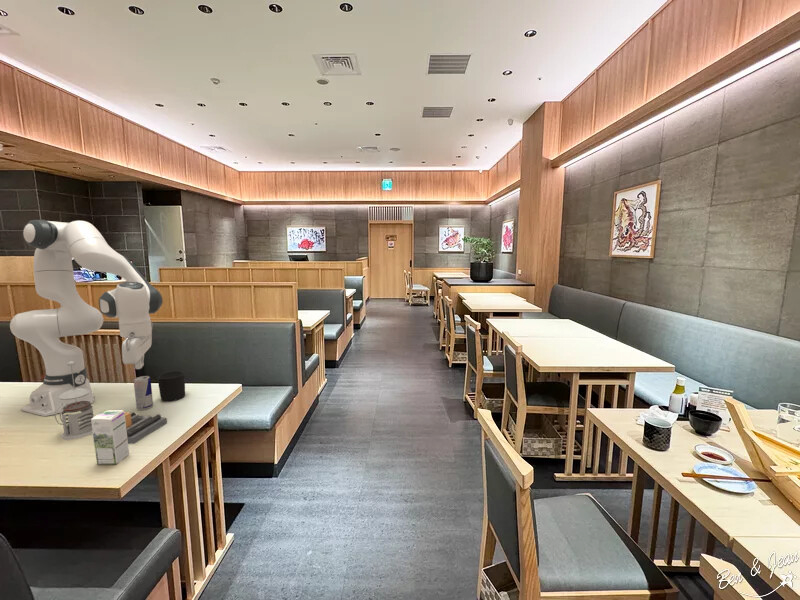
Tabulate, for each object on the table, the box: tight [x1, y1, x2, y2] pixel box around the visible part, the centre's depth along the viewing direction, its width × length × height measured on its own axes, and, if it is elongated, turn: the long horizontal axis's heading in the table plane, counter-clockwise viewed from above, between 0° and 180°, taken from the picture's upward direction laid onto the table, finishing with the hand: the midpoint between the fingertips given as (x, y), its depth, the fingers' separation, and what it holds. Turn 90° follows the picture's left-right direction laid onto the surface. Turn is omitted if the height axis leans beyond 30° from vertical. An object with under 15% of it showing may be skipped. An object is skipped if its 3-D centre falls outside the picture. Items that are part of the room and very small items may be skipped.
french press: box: [54, 361, 94, 441], centre depth 120 cm, size 10×12×25 cm
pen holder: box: [157, 370, 186, 403], centre depth 150 cm, size 9×9×10 cm
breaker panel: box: [126, 412, 168, 445], centre depth 123 cm, size 14×14×4 cm
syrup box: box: [91, 409, 130, 465], centre depth 106 cm, size 6×6×14 cm
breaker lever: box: [124, 411, 132, 429], centre depth 119 cm, size 3×3×5 cm
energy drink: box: [133, 375, 154, 411], centre depth 140 cm, size 5×5×12 cm
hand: (139, 367), depth 126 cm, fingers closed
